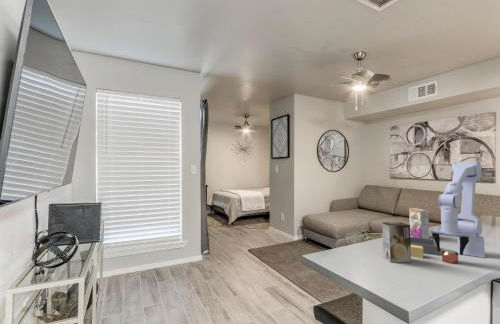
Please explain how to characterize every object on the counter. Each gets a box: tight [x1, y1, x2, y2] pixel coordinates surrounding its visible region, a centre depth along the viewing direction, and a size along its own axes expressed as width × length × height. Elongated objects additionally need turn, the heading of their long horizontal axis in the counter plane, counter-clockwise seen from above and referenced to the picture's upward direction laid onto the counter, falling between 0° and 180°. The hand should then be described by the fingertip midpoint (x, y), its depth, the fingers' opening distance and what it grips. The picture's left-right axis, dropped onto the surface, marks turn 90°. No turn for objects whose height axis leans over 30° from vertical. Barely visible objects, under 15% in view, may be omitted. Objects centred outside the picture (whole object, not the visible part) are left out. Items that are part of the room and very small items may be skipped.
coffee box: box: [381, 221, 412, 263], centre depth 110 cm, size 9×6×16 cm
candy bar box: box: [408, 207, 430, 239], centre depth 147 cm, size 11×5×16 cm, turn 179°
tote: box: [410, 236, 440, 256], centre depth 125 cm, size 14×14×4 cm
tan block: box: [411, 245, 424, 259], centre depth 115 cm, size 5×5×4 cm
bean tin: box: [441, 248, 459, 265], centre depth 108 cm, size 5×5×5 cm
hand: (449, 252), depth 108 cm, fingers open, 7 cm apart
